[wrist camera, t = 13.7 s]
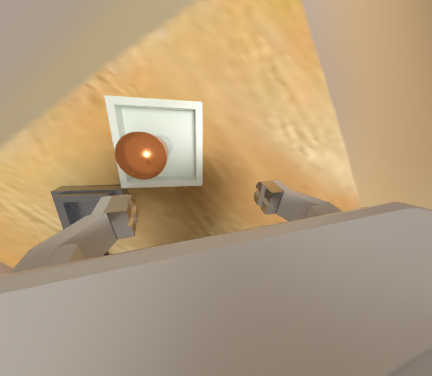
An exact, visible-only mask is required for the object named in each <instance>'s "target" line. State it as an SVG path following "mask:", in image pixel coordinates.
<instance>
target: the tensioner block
mask: <svg viewBox="0 0 432 376" xmlns="http://www.w3.org/2000/svg"><path fill="white" fill-rule="evenodd" d="M51 195H52V197H53V200H54V203H55V206H56V209H57V212H58V215H59V218H60V221H61V224H62V227H63V230H64V229H65V228H67V227H69V226H70V225H72V224H74V223H75V222H77V221H79V220H80V219H82V218H84V217H85V216H87V215H91V213H92V211H93V210H94V208H95V207H96V205H97V203H98V202H99V200H100V198H101V197H104V196H115V195H128V190H127V188H121V185H101V186H65V187H60V188H58V189H55V190H53V191H51Z"/></svg>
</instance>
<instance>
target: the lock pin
mask: <svg viewBox="0 0 432 376" xmlns="http://www.w3.org/2000/svg"><path fill="white" fill-rule="evenodd" d="M172 149H173V144H172V142H171V140H170V139H169V138H168V137H166V136H164V135H156V136H155V135H153V134H150V133H147V132H131V133H128V134H126V135H124V136H123V137H121V138H120V139H119V141H118V142H117V144H116V147H115V158H116V161H117V163H118V165H119V167H120V168H121V169H122V170H123V171H124V172H125V173H126V174H127V175H129V176H131V177H133V178H136V179H141V180H147V179H151V178H154V177H156V176H158V175H159V174H160V173H161V172H162V171H163V169H164V167H165V166H166V163H167V159H168V155H169V154H170V153H171V151H172Z"/></svg>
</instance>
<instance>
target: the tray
mask: <svg viewBox="0 0 432 376" xmlns="http://www.w3.org/2000/svg"><path fill="white" fill-rule="evenodd" d="M104 96H105V95H104ZM105 101H106V107H107V112H108V118H109V123H110V129H111V134H112V140H113V145H114V151H115V147H116V144H117V142H118V141H119V139H120V138H121V137H123V136H124V135H126V134H128V133H131V132H147V133H150V134H153V135H155V136H156V135H164V136H166V137H168V138H169V139H170V140H171V142H172V144H173V149H172V151H171V153H170V154H169V155H168V159H167V163H166V166H165V167H164V169H163V171H162V172H161V173H160V174H159V175H158V176H156V177H154V178H151V179H147V180H141V179H136V178H133V177H131V176H129V175H127V174H126V173H125V172H124V171H123V170H122V169H121V168H120V167H119V165H118V163H117V167H118V172H119V178H120V183H121V188H145V187H177V186H203V157H202V102H196V101H181V100H166V99H151V98H135V97H120V96H105Z"/></svg>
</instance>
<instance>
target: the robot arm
mask: <svg viewBox="0 0 432 376" xmlns="http://www.w3.org/2000/svg"><path fill="white" fill-rule="evenodd" d="M256 188H257V191H256V192H255V194H254V200H255V202H256V204H257V205H259V206H261V210H262V211H263V212H264V213H265V215H267V214H275V213H276V214H277V215H279V216H281V217H282V218H284V219H286V220H287V221H289V222H283V223H278V224H273V225H267V226H262V227H257V228H251V229H246V230H241V231H235V232H230V233H224V234H219V235H214V236H208V237H203V238H197V239H192V240H187V241H181V242H176V243H170V244H165V245H160V246H154V247H149V248H144V249H138V250H133V251H127V252H122V253H116V254H111V255H106V256H103V255H104V254H105V253H106V252H107V251H108V250H109V249H110V247H111V246H112V245H113V244H114V243H115V242H116V241H117V239H122V238H127V237H132V236H135V231H136V223H137V222H138V209H137V206H136V205H134V203H135V198H134V195H133V194H128V195H115V196H104V197H101V198H100V200H99V202H98V203H97V205H96V207H95V208H94V210H93V211H92V213H91V215H87V216H85V217H84V218H82V219H80V220H79V221H77V222H75V223H74V224H72V225H70V226H69V227H67V228H65V229H64V230H62V231H60V232H59V233H57V234H55V235H54V236H52V237H50V238H49V239H47V240H45V241H44V242H42V243H40V244H39V245H37V246H35V247H33V248H32V249H30V250H29V251H28V252H27V253H26V255H25V256H24V257H23V258H22V259H21V260H20V262H19V263H18V264H17V265H16V266H15V267H14V269H13V270H12V271H11V272H10V273H9V274H3V275H0V376H432V210H430V209H427V208H422V207H418V206H414V205H409V204H405V203H398V202H390V203H385V204H380V205H375V206H370V207H364V208H359V209H353V210H348V211H341V210H340V209H338V208H337V207H335V206H334V205H332V204H331V203H329V202H326V201H323V200H321V199H318V198H315V197H312V196H309V195H306V194H303V193H300V192H297V191H292V190H290V189H289V188H288V187H286V186H285V185H284V184H282V183H281V182H280V181H278V180H272V181H265V182H258V183H257V185H256Z"/></svg>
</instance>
